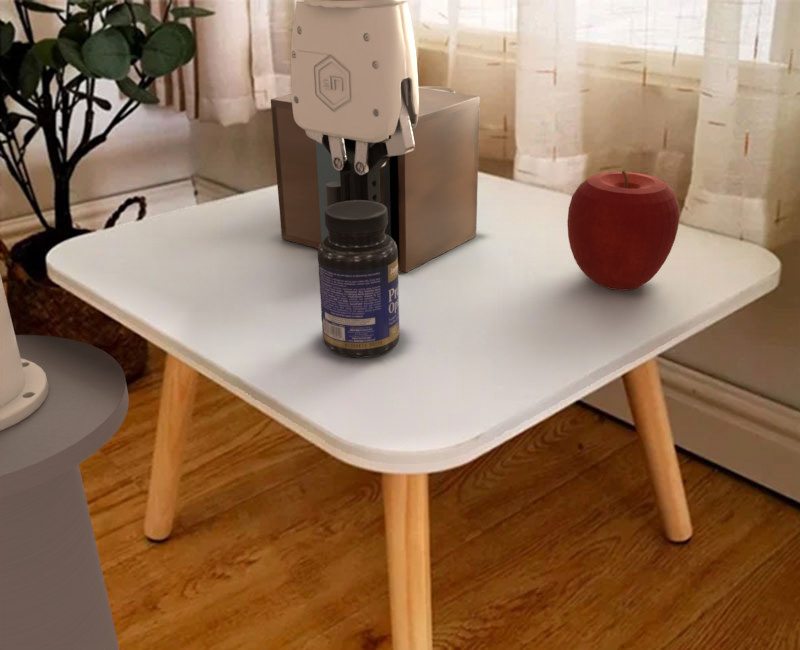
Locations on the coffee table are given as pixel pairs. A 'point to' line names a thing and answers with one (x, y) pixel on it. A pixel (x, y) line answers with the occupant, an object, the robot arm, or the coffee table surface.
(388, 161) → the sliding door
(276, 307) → the coffee table surface
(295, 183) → the cabinet
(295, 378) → the coffee table surface
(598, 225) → the apple
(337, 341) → the pill bottle
